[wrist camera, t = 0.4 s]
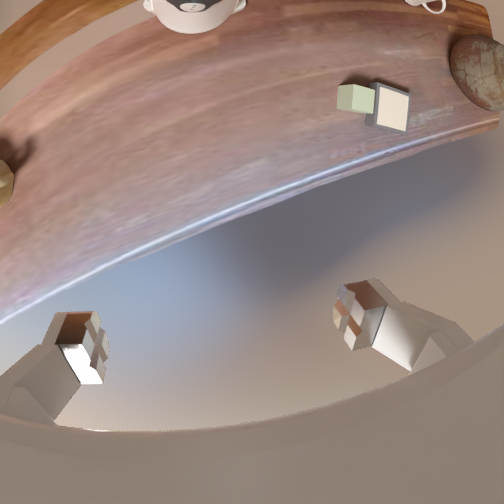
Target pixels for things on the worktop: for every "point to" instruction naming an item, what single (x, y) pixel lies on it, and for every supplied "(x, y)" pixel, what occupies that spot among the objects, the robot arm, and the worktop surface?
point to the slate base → (389, 109)
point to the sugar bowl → (5, 183)
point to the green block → (355, 98)
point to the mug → (418, 0)
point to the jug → (479, 70)
